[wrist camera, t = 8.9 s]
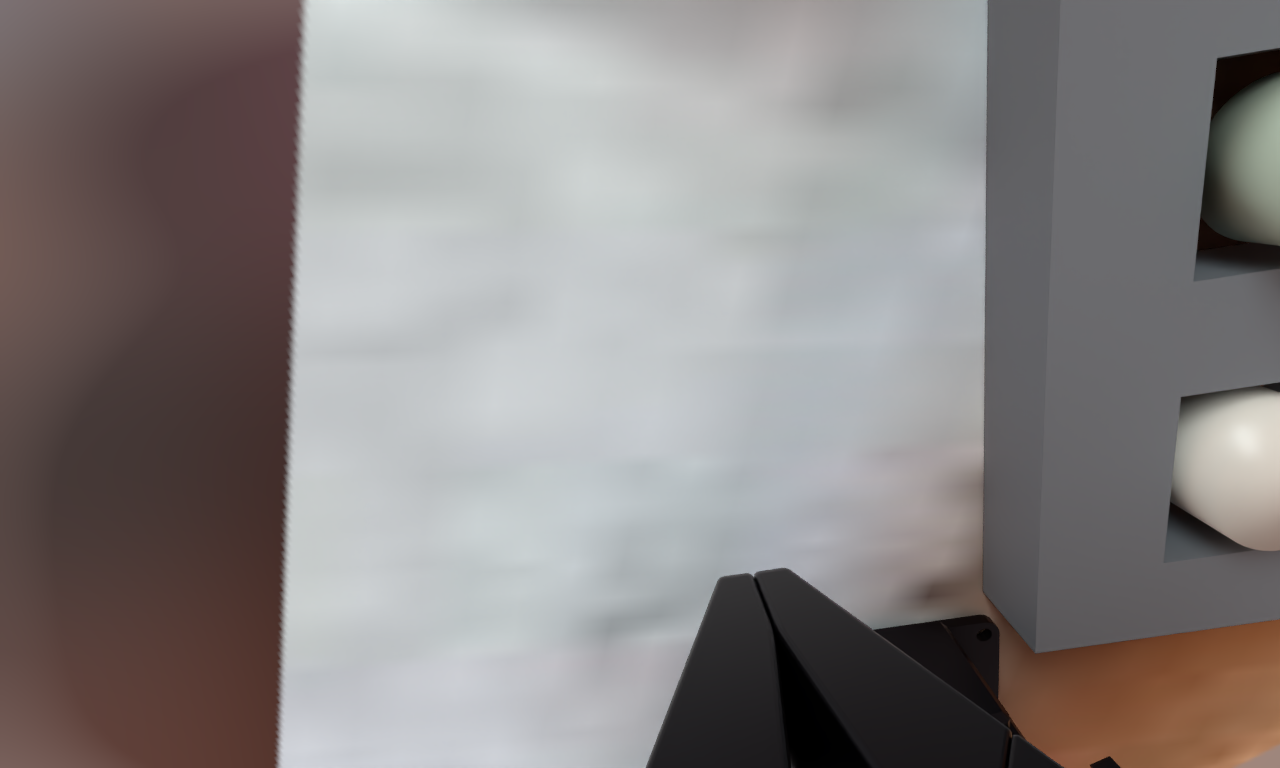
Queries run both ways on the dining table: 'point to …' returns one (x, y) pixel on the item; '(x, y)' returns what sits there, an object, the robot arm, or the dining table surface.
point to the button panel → (1113, 318)
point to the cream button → (1231, 464)
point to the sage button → (1245, 165)
